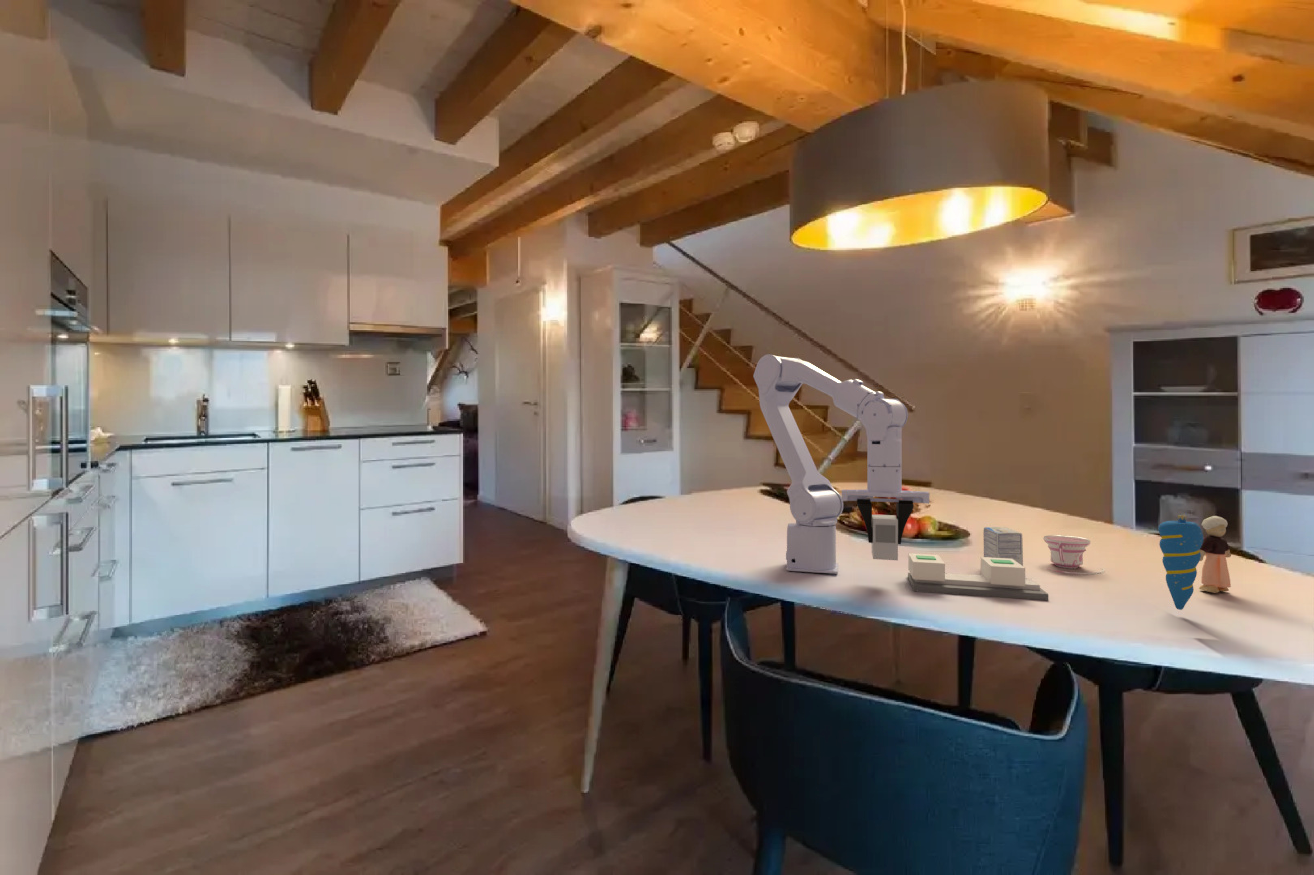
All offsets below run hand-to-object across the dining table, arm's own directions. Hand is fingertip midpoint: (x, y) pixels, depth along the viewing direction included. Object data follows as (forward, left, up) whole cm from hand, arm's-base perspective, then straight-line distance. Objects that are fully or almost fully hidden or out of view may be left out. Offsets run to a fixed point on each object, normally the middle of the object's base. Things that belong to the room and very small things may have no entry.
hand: (884, 542), depth 106 cm
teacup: (+36, +25, -8) cm, 44 cm away
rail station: (+13, +2, -8) cm, 15 cm away
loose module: (0, 0, -2) cm, 2 cm away
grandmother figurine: (+54, +13, -8) cm, 56 cm away
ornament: (+42, -3, -8) cm, 43 cm away
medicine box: (+22, +15, -8) cm, 28 cm away
